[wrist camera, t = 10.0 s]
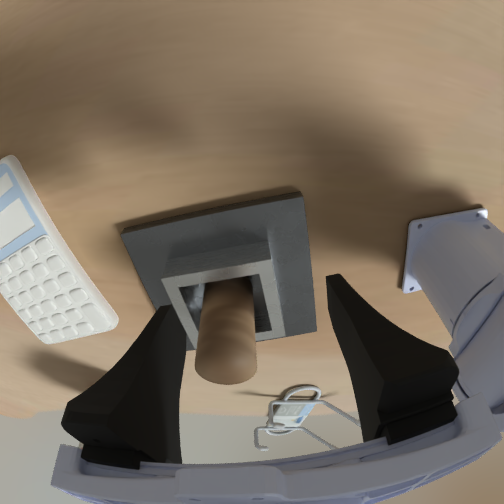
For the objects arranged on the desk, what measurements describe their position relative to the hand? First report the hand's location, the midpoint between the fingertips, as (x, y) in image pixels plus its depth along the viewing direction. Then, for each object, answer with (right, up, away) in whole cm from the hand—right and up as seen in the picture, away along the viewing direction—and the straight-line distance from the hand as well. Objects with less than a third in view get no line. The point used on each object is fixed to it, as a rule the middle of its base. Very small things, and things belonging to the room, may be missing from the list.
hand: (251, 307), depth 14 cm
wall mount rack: (+8, -21, +26) cm, 34 cm away
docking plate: (-2, 0, +12) cm, 13 cm away
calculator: (-23, +2, +11) cm, 25 cm away
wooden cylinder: (-2, -1, +11) cm, 12 cm away
